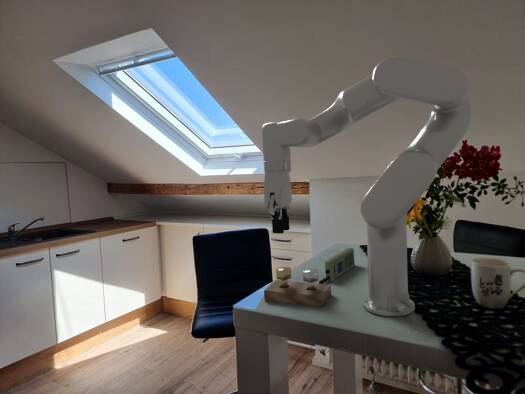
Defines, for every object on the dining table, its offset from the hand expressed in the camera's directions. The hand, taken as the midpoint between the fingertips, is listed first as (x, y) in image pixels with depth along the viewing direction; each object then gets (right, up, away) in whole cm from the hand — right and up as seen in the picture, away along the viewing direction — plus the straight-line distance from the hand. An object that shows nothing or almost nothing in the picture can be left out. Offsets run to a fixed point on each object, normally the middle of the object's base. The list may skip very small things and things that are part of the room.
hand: (281, 230), depth 105 cm
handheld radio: (+20, -17, +19) cm, 32 cm away
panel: (+5, -19, 0) cm, 20 cm away
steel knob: (+8, -16, -2) cm, 18 cm away
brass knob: (+1, -16, +2) cm, 17 cm away
